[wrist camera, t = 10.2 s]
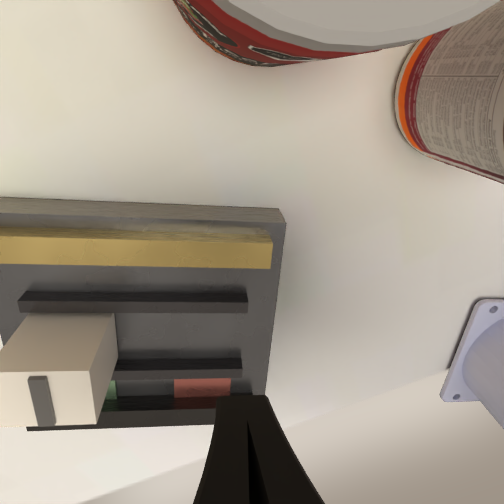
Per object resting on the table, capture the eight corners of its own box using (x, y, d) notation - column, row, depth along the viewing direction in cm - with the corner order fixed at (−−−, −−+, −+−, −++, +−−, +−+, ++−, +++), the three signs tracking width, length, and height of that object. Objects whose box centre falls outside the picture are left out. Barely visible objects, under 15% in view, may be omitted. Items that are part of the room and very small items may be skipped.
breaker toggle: (113, 309, 17) (87, 374, 13) (118, 356, 18) (95, 428, 15) (31, 309, 17) (-20, 376, 13) (41, 357, 18) (-3, 431, 14)
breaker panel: (278, 208, 18) (290, 231, 15) (257, 389, 23) (264, 430, 21) (-6, 196, 16) (-47, 220, 14) (38, 394, 22) (14, 439, 19)
